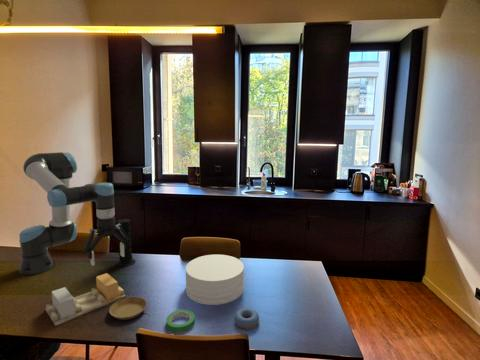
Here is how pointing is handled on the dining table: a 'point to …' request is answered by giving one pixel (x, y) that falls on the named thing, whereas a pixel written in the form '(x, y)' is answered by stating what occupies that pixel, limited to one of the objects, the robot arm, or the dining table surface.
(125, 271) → the dining table surface
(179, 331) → the tape roll
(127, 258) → the handle grip
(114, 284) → the tan rectangular block
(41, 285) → the dining table surface
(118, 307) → the plant saucer
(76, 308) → the rack
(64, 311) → the grey bar
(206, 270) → the plate stack
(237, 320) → the doughnut
